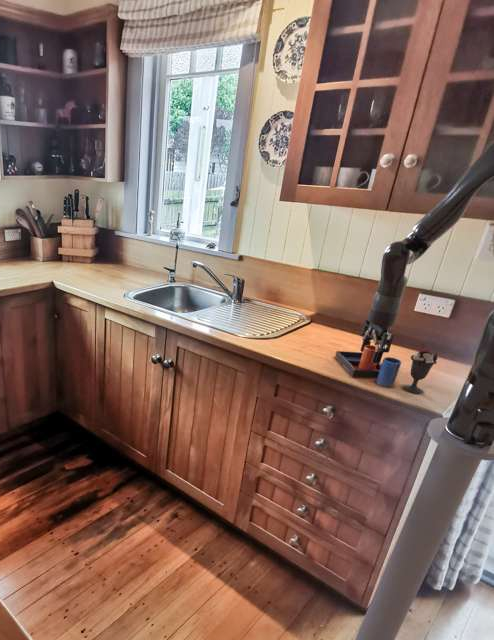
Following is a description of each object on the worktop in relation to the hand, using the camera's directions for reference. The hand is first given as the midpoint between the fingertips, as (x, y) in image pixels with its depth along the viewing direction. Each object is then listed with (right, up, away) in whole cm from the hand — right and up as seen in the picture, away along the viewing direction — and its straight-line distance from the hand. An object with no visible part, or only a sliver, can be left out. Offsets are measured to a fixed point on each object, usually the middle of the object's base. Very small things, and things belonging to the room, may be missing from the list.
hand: (369, 356), depth 148 cm
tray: (0, -3, +6) cm, 7 cm away
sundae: (+9, -10, -7) cm, 16 cm away
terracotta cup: (0, -4, +2) cm, 5 cm away
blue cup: (+2, -8, -4) cm, 10 cm away
